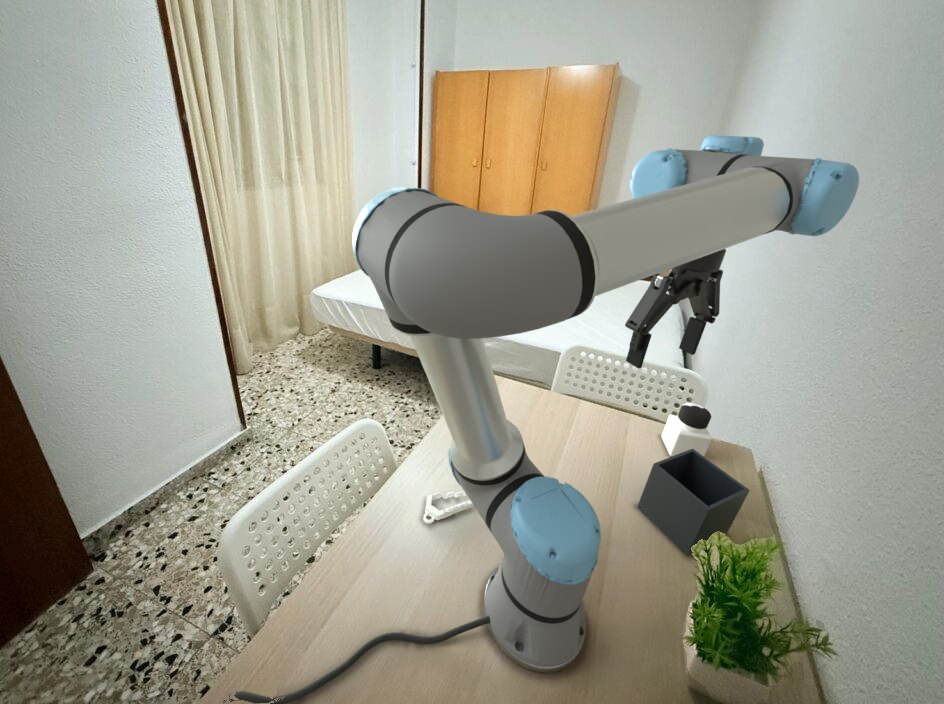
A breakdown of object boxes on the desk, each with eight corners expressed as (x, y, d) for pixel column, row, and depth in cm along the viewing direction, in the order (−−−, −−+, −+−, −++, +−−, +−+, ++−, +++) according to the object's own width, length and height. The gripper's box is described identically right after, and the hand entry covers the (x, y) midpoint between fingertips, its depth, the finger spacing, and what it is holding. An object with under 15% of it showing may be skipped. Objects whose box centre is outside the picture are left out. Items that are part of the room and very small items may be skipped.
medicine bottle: (702, 462, 93) (721, 421, 88) (669, 456, 94) (685, 416, 89) (691, 441, 100) (707, 402, 94) (660, 436, 101) (675, 397, 96)
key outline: (473, 485, 85) (473, 479, 84) (485, 503, 81) (486, 497, 80) (416, 504, 80) (416, 498, 79) (425, 525, 76) (426, 519, 75)
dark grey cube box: (686, 556, 72) (636, 507, 81) (726, 535, 76) (674, 491, 85) (709, 510, 67) (653, 463, 76) (750, 490, 71) (692, 448, 80)
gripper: (664, 255, 56) (626, 382, 65) (773, 243, 65) (726, 355, 74) (622, 241, 62) (593, 359, 71) (727, 232, 71) (689, 337, 80)
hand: (660, 357), depth 73 cm, fingers open, 13 cm apart
